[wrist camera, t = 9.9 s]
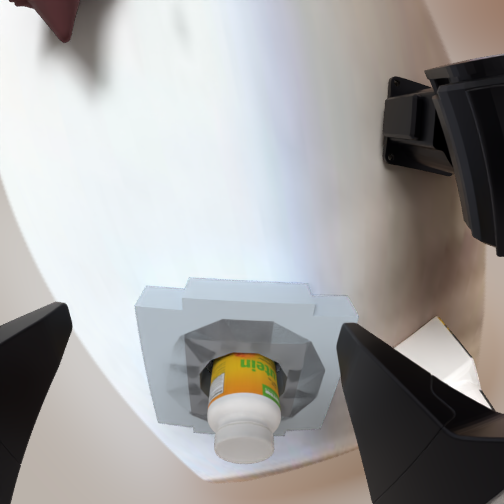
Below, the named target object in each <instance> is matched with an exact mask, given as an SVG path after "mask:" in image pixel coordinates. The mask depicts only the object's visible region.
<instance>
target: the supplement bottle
mask: <svg viewBox="0 0 504 504" xmlns="http://www.w3.org/2000/svg"><path fill="white" fill-rule="evenodd" d="M207 420H208V424H209V426H210V428H211V429H212V430H213V431H214V432H215V433H216V434H215V444H214V450H215V453H216V454H217V455H218V456H219V457H220V458H222V459H223V460H226V461H228V462H232V463H237V464H252V463H257V462H261V461H264V460H266V459H267V458H269V457H270V456H271V455H272V454H273V452H274V437H273V433H274V432H275V431H276V430H277V428H278V426H279V424H280V421H281V409H280V401H279V392H278V384H277V374H276V365H275V361H273V360H271V359H269V358H267V357H265V356H263V355H260V354H258V353H237V352H232V353H229V354H227V355H224V356H221V357H218V358H215V359H214V361H213V368H212V376H211V385H210V394H209V403H208V412H207Z"/></svg>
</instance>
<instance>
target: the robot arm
mask: <svg viewBox="0 0 504 504" xmlns="http://www.w3.org/2000/svg"><path fill="white" fill-rule="evenodd" d="M424 72H425V74H426V76H427V79H429V80H430V82H431V85H432V87H433V88H431V87H428V86H425V85H422V84H419V83H416V82H413V81H410V80H407V79H404V78H400V77H396V76H395V77H392V78H390V79H389V86H388V99H387V100H385V112H384V124H383V134H384V136H385V139H384V149H383V160H384V161H385V162H386V163H389V164H393V165H398V166H404V167H409V168H414V169H418V170H423V171H428V172H432V173H437V174H441V175H445V176H451V175H452V174H455V177H456V182H457V186H458V191H459V196H460V201H461V206H462V212H463V218H464V221H465V223H466V224H467V226H468V227H469V228H470V229H471V231H472V236H473V237H474V238H476V239H478V240H479V241H481V242H483V243H484V244H487V245H490V246H493V247H496V254H497V256H499V257H504V54H499V55H492V56H486V57H481V58H475V59H470V60H466V61H462V62H457V63H452V64H448V65H444V66H440V67H436V68H432V69H429V70H425V71H424ZM394 81H397V83H398V86H396V85H395V84H394ZM389 154H391V155H392V158H391V159H390V160H389V159H388V155H389ZM71 331H72V321H71V317H70V313H69V309H68V306H67V304H65V303H61V302H54V303H51V304H49V305H47V306H45V307H43V308H40V309H37V310H35V311H33V312H31V313H28V314H26V315H24V316H21V317H19V318H17V319H15V320H12V321H10V322H8V323H5V324H3V325H1V326H0V504H10V503H11V500H12V496H13V492H14V488H15V484H16V480H17V477H18V473H19V470H20V467H21V465H20V464H21V463H22V460H23V456H24V454H25V450H26V447H27V444H28V441H29V439H30V436H31V433H32V430H33V428H34V425H35V422H36V420H37V417H38V414H39V412H40V409H41V407H42V404H43V402H44V399H45V397H46V395H47V392H48V390H49V388H50V385H51V383H52V381H53V379H54V376H55V374H56V372H57V370H58V367H59V365H60V362H61V359H62V356H63V354H64V350H65V348H66V345H67V342H68V340H69V337H70V334H71ZM336 351H337V357H338V363H339V369H340V375H341V381H342V387H343V392H344V395H345V399H346V403H347V406H348V410H349V413H350V417H351V421H352V424H353V428H354V432H355V435H356V439H357V443H358V447H359V451H360V455H361V458H362V463H363V467H364V471H365V475H366V479H367V483H368V487H369V491H370V495H371V500H372V503H373V504H504V414H501V413H498V412H496V411H494V410H492V409H490V408H488V407H486V406H484V405H482V404H481V403H479V402H477V401H475V400H473V399H472V398H470V397H468V396H466V395H464V394H463V393H461V392H459V391H457V390H456V389H454V388H452V387H451V386H449V385H448V384H446V383H444V382H443V381H441V380H440V379H438V378H437V377H435V376H434V375H431V373H429V372H428V371H427V370H425V369H424V368H422V367H421V366H419V365H418V364H416V363H415V362H413V361H412V360H410V359H409V358H407V357H406V356H404V355H403V354H401V353H400V352H398V351H397V350H395V349H394V348H392V347H391V346H389V345H388V344H386V343H385V342H384V341H382V340H381V339H379V338H378V337H376V336H375V335H373V334H372V333H370V332H369V331H367V330H366V329H364V328H363V327H361V326H360V325H358V324H357V323H354V322H351V323H343V324H342V326H341V329H340V333H339V337H338V340H337V345H336Z"/></svg>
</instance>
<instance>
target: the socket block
mask: <svg viewBox="0 0 504 504" xmlns="http://www.w3.org/2000/svg"><path fill="white" fill-rule="evenodd" d="M135 312H136V319H137V325H138V331H139V337H140V343H141V348H142V354H143V359H144V364H145V369H146V374H147V378H148V383H149V388H150V392H151V396H152V400H153V405H154V409H155V413H156V416H157V420H158V423H161V424H168V425H176V426H185V427H193V430H194V433H203V434H216V433H215V432H214V431H213V430H212V429H211V428H210V426H209V424H208V420H207V412H208V403H209V394H210V385H211V376H212V375H211V374H210V372H209V371H208V370H207V369H206V365H207V364H208V363H209V362H210V361H211V360H213V359H215V358H218V357H221V356H224V355H227V354H229V353H232V352H237V353H258V354H260V355H263V356H265V357H267V358H269V359H271V360H273V361H275V362H278V363H279V365H280V366H281V369H280V370H279V371H278V372H277V373H276V374H277V384H278V392H279V401H280V409H281V421H280V424H279V426H278V428H277V430H276V431H275V432H274V433H273V436H285V432H286V431H292V430H313V429H321V426H322V424H323V421H324V419H325V416H326V414H327V411H328V408H329V406H330V403H331V400H332V398H333V395H334V392H335V390H336V387H337V384H338V381H339V378H340V369H339V363H338V357H337V351H336V345H337V340H338V337H339V333H340V329H341V326H342V324H343V323H351V322H354V323H357V321H358V318H359V316H358V314H357V312H356V310H355V308H354V307H353V305H352V303H351V301H350V299H349V298H348V296H331V295H312V294H311V291H310V288H309V286H308V284H307V283H282V282H260V281H240V280H222V279H205V278H189V279H188V282H187V284H186V287H185V289H181V288H167V287H154V286H146V287H145V289H144V290H143V292H142V294H141V296H140V297H139V299H138V301H137V303H136V304H135Z"/></svg>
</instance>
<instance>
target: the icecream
mask: <svg viewBox="0 0 504 504" xmlns="http://www.w3.org/2000/svg"><path fill="white" fill-rule="evenodd" d="M9 1H10V2H14V3H15V5H16V6H25V7H29V8H33V9H35V11H36V12H37V13H38V14H39V15H40V16H41V18H42V19H43V20H44V21H45V22H46V24H47V25H48V26H49V27H50V28H51V30H52V31H53V32H54V33H55V35H56V36H57V37H58V38H59V39H60V40H61V41H62V42H63V43H67V42H68V41H70V39H71V35H72V30H73V26H74V21H75V17H76V13H77V10H78V6H79V3H80V0H9Z"/></svg>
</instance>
